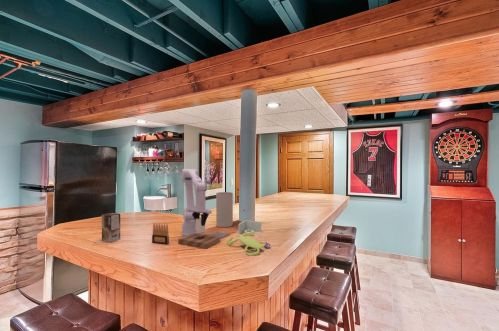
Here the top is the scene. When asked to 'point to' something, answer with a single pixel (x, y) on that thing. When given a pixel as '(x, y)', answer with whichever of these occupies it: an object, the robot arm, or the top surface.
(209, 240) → the walnut board
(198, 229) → the steel peg
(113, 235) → the coffee box
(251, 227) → the l-shaped corner panel
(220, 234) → the rubber mat
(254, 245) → the figurine
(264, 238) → the top surface
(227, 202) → the cylinder vase
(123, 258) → the top surface
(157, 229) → the ammunition clip
